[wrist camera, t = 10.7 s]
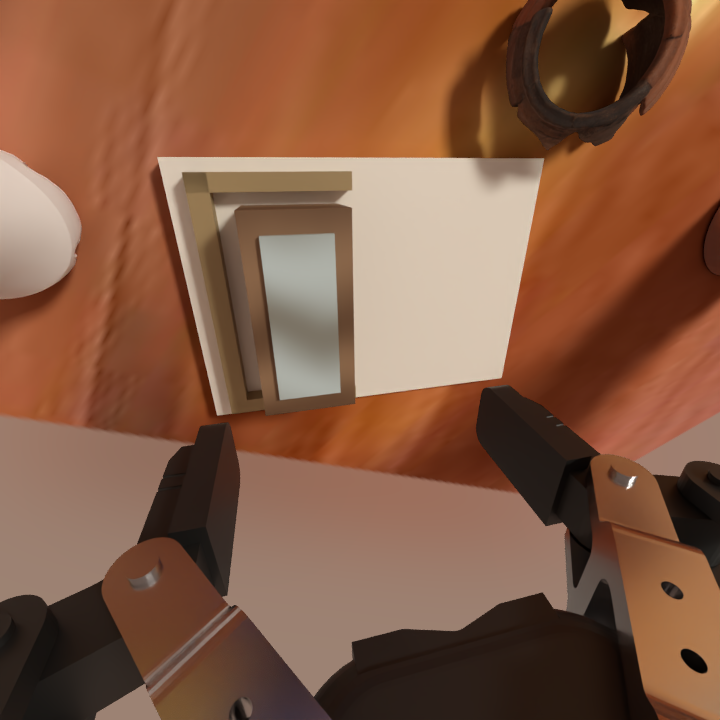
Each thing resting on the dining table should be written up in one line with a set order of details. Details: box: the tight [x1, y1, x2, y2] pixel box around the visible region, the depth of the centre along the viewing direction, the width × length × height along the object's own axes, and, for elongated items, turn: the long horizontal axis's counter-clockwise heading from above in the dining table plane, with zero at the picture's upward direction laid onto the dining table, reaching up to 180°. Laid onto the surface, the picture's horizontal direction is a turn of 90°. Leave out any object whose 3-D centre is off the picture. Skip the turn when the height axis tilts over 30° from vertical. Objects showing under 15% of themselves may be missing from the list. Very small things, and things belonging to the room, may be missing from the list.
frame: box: [234, 203, 355, 416], centre depth 22 cm, size 12×6×5 cm, turn 0°
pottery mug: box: [506, 0, 692, 150], centre depth 20 cm, size 12×9×8 cm
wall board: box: [157, 157, 544, 416], centre depth 25 cm, size 24×17×2 cm
